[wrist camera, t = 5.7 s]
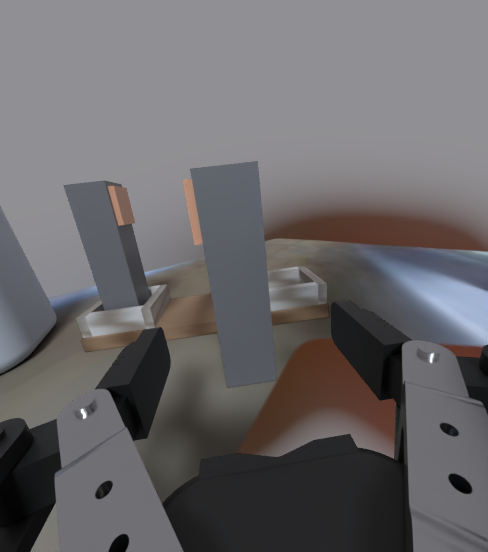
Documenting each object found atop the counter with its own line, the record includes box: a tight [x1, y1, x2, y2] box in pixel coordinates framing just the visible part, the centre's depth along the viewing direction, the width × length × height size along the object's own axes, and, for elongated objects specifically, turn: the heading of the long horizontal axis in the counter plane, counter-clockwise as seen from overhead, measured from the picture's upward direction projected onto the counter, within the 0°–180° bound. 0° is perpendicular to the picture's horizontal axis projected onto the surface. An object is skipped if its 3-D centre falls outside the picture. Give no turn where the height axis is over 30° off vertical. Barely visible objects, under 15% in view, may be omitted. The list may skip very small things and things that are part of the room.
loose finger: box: [183, 161, 277, 388], centre depth 18 cm, size 5×4×16 cm
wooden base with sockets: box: [76, 266, 329, 352], centre depth 30 cm, size 28×9×4 cm, turn 95°
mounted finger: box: [64, 181, 150, 311], centre depth 27 cm, size 5×4×16 cm
